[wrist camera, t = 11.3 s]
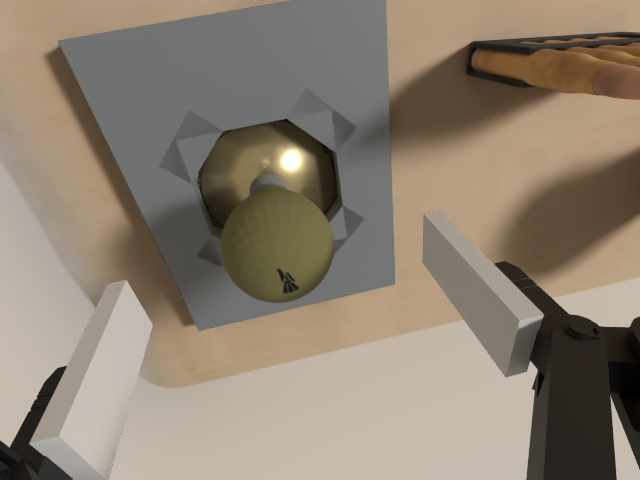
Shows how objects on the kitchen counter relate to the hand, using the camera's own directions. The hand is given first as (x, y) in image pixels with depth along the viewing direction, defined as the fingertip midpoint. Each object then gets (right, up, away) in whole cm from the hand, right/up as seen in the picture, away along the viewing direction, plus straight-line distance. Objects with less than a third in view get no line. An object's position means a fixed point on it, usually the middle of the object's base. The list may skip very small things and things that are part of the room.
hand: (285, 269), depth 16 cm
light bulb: (-2, +5, +8) cm, 10 cm away
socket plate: (-2, +5, +8) cm, 10 cm away
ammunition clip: (+16, +13, +7) cm, 22 cm away
